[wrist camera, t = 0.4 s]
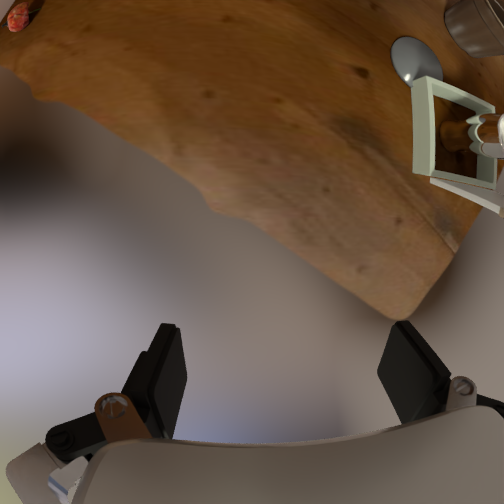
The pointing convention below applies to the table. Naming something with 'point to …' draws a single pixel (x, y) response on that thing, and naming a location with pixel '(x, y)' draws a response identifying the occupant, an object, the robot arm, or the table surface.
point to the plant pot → (477, 26)
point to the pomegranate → (18, 17)
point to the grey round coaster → (414, 60)
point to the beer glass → (475, 135)
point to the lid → (474, 194)
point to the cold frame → (426, 130)
